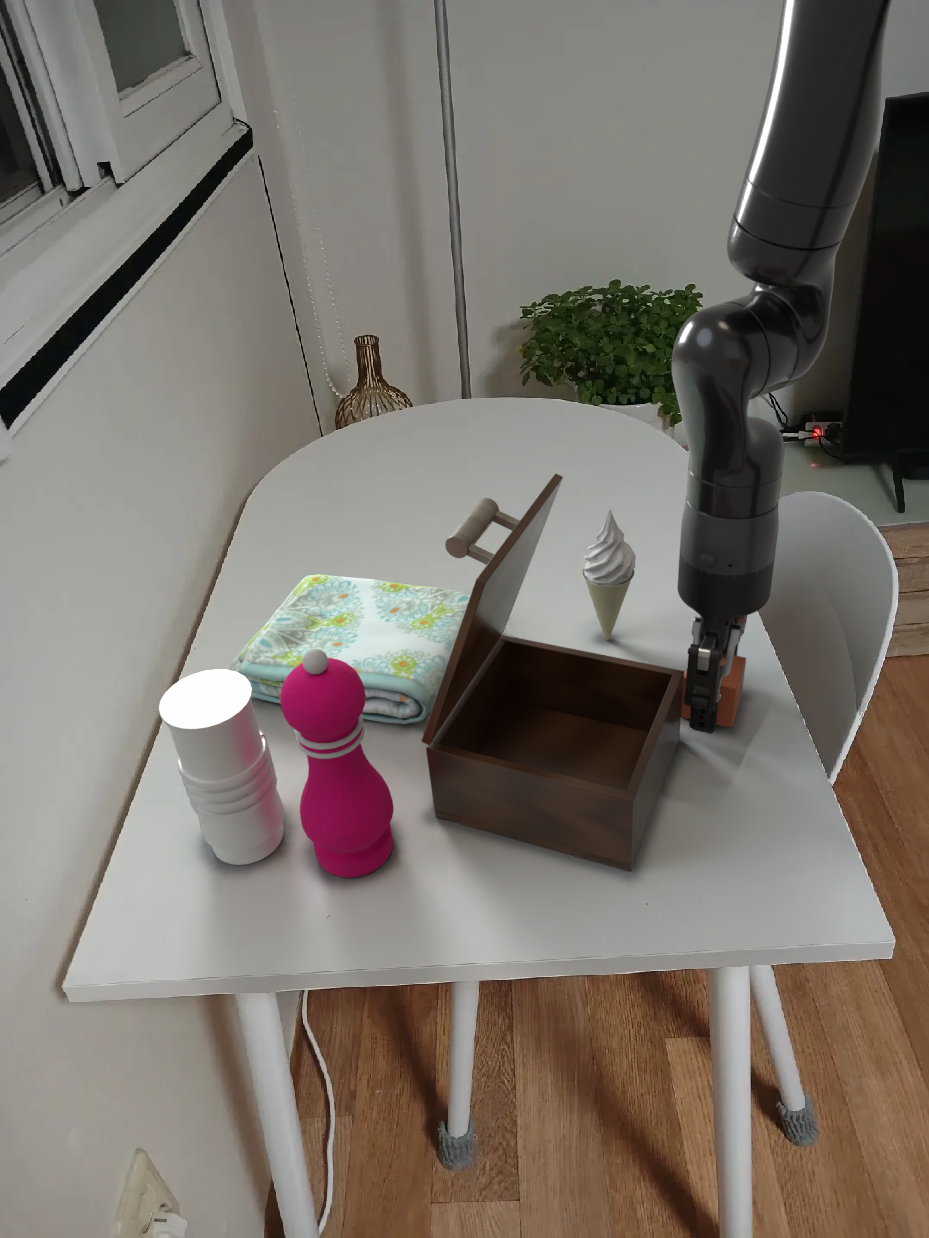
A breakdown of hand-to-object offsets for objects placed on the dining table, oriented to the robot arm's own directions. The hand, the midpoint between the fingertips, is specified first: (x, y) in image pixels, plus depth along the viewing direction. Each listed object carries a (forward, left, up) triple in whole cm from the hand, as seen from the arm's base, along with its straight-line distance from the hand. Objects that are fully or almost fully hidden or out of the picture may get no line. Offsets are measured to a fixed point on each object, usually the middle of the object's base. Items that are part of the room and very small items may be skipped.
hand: (713, 699), depth 87 cm
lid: (+15, +13, +15) cm, 25 cm away
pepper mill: (+23, +26, -1) cm, 35 cm away
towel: (+34, +4, -1) cm, 34 cm away
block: (0, 0, -1) cm, 1 cm away
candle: (+32, +28, -1) cm, 43 cm away
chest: (+10, +13, -1) cm, 16 cm away
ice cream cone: (+12, -7, -1) cm, 14 cm away
